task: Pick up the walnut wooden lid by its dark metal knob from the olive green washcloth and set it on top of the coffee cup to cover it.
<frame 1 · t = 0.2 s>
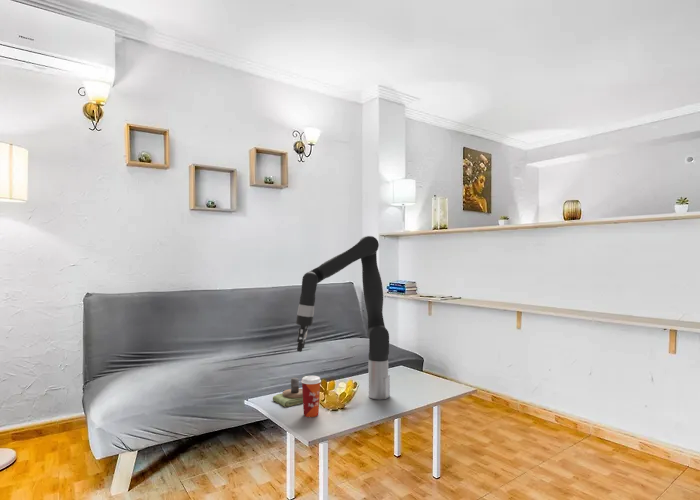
hand: (300, 349, 193), 22 cm above the table, tool pointing down, fingers open, 8 cm apart
walnut lid: (294, 394, 190), point 3 cm above the table, touching washcloth
washcloth: (295, 401, 190), on the table, touching walnut lid
coffee cup: (311, 415, 172), on the table
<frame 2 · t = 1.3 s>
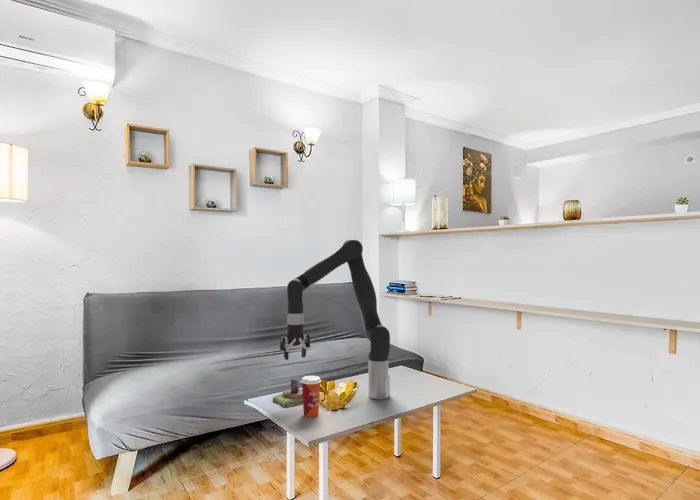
hand: (295, 358, 191), 19 cm above the table, tool pointing down, fingers open, 8 cm apart
nothing on the table moved.
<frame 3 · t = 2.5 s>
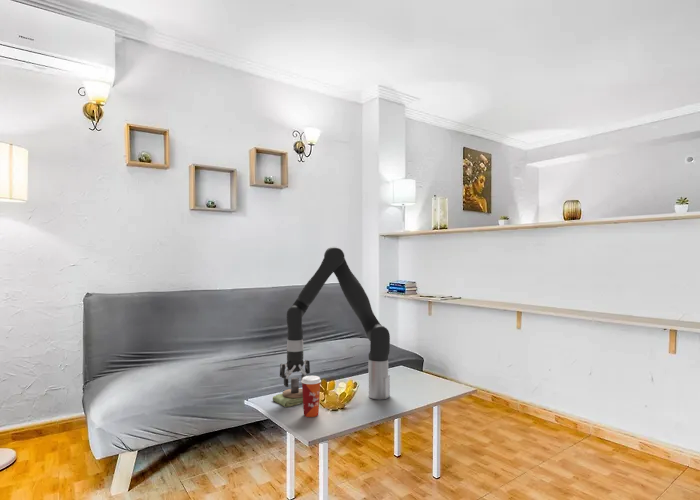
hand: (295, 385, 191), 7 cm above the table, tool pointing down, fingers open, 8 cm apart
nothing on the table moved.
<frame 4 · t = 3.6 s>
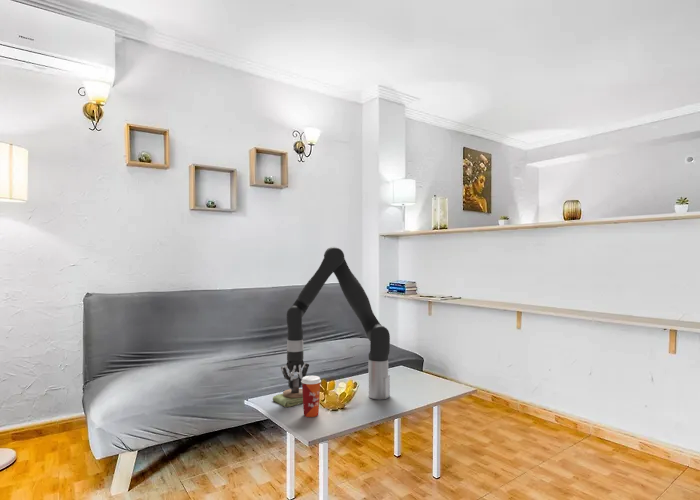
hand: (295, 387, 191), 6 cm above the table, tool pointing down, fingers closed on walnut lid, 3 cm apart
walnut lid: (295, 394, 190), point 3 cm above the table, touching gripper, washcloth
everything else where it was.
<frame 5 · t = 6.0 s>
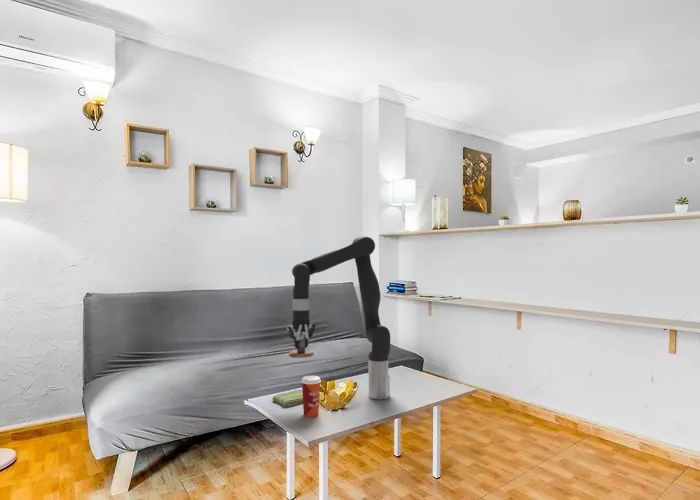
hand: (301, 347, 184), 25 cm above the table, tool pointing down, fingers closed on walnut lid, 3 cm apart
walnut lid: (301, 355, 184), point 22 cm above the table, touching gripper
washcloth: (294, 401, 190), on the table
everything else where it was.
when the fingers open (19 cm above the table, at t = 8.8 s): walnut lid drops 1 cm, resting on coffee cup.
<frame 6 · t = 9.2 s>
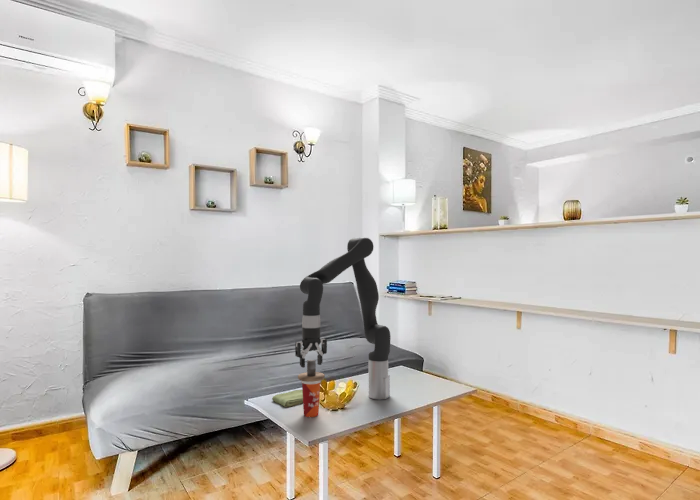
hand: (311, 365, 172), 20 cm above the table, tool pointing down, fingers open, 7 cm apart
walnut lid: (311, 377, 172), point 15 cm above the table, touching coffee cup
coffee cup: (311, 415, 172), on the table, touching walnut lid
everything else where it was.
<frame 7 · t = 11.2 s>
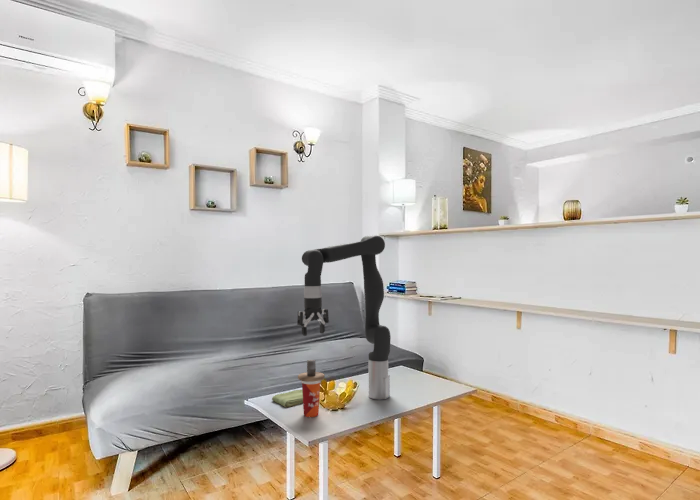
hand: (313, 334, 179), 32 cm above the table, tool pointing down, fingers open, 8 cm apart
nothing on the table moved.
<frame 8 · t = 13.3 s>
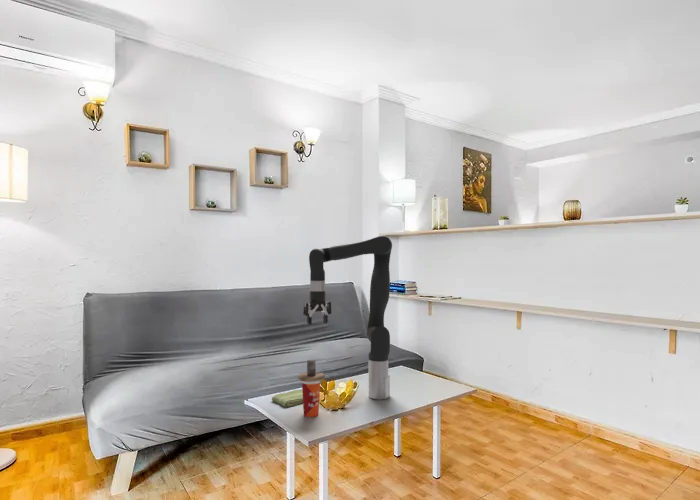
hand: (317, 324, 200), 33 cm above the table, tool pointing down, fingers open, 8 cm apart
nothing on the table moved.
at the end: walnut lid 0.0 cm from the coffee cup (horizontally); walnut lid point 15.0 cm above the table; coffee cup tilted 0° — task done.
